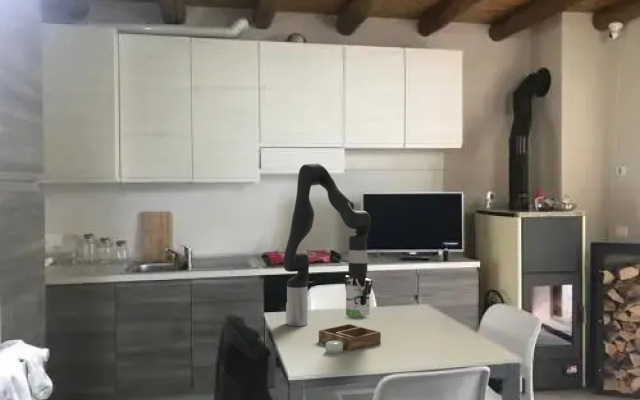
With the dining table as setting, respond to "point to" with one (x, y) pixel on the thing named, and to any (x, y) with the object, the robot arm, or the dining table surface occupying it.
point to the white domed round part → (334, 347)
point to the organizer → (350, 336)
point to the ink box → (356, 302)
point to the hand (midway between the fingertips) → (358, 303)
